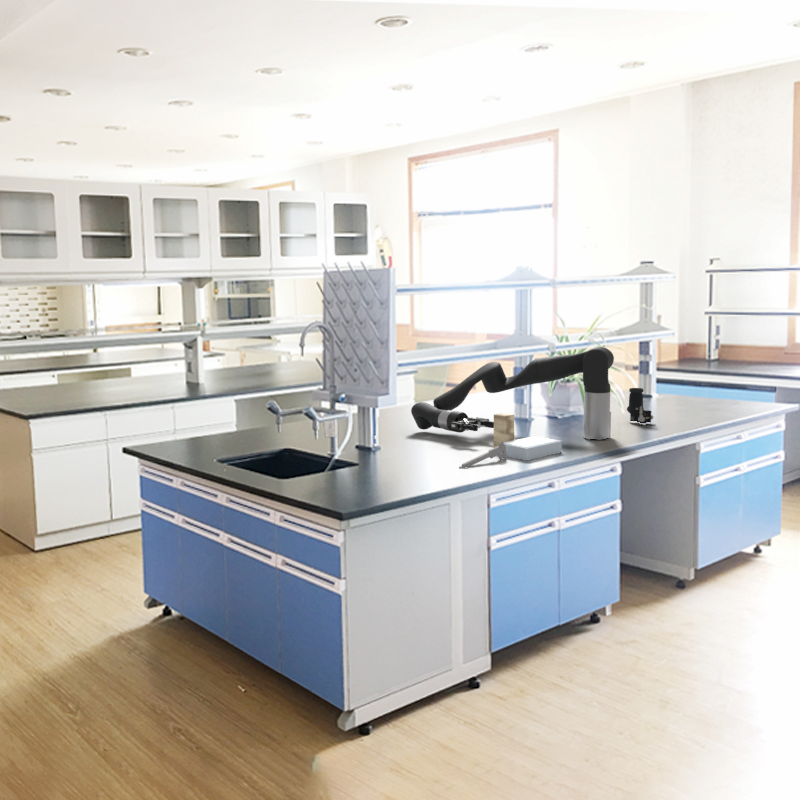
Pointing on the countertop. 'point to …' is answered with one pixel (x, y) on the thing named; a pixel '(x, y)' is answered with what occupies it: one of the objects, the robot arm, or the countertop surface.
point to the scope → (638, 407)
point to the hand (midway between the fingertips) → (485, 426)
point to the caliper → (488, 455)
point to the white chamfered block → (532, 447)
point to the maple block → (503, 428)
